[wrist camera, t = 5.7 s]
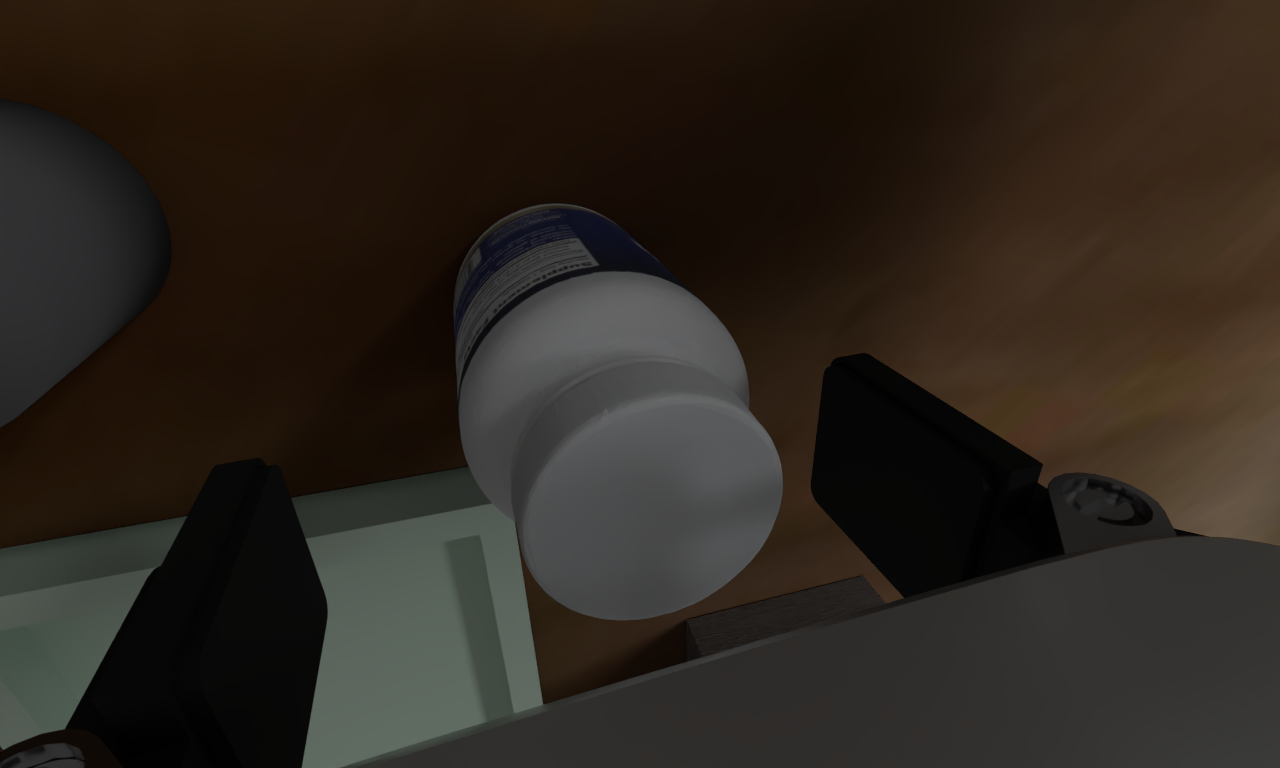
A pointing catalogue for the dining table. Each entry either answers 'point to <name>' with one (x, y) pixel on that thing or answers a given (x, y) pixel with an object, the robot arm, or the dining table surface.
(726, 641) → the metal box
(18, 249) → the stopper
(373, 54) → the dining table surface
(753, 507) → the pill bottle
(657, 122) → the dining table surface
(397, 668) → the tray
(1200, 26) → the dining table surface
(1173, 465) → the dining table surface
